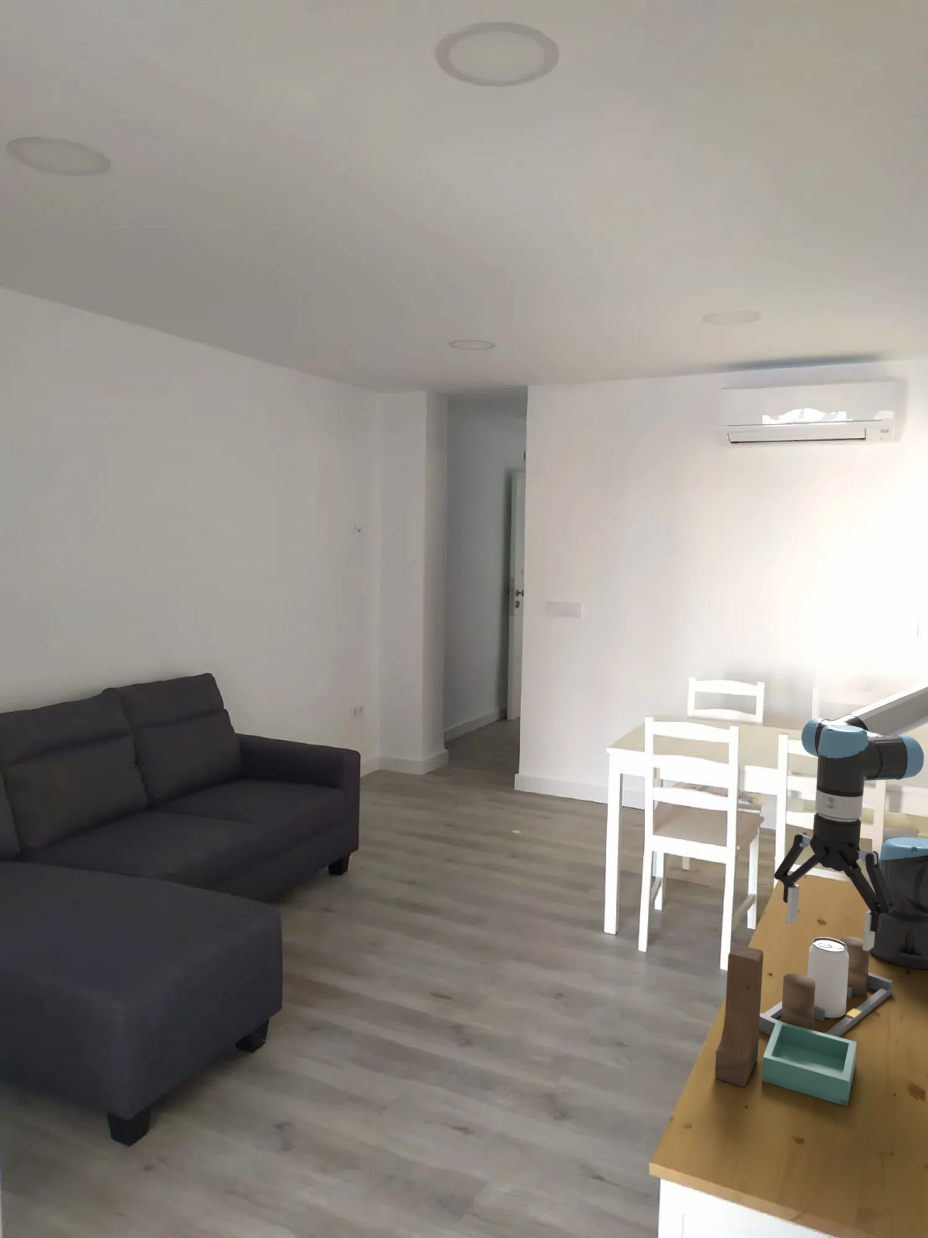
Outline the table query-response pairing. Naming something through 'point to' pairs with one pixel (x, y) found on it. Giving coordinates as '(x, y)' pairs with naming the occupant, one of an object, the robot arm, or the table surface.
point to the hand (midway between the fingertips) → (828, 935)
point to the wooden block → (740, 1016)
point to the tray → (810, 1062)
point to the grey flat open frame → (852, 1017)
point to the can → (829, 975)
